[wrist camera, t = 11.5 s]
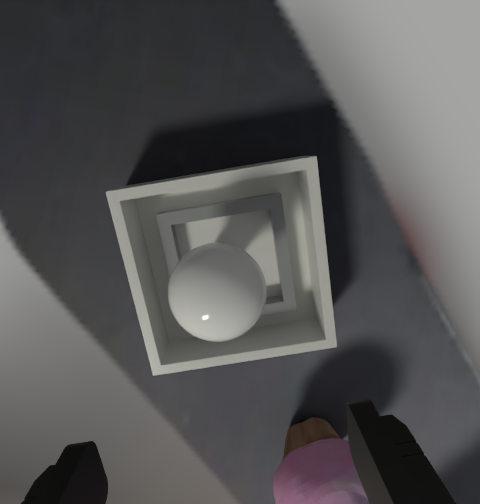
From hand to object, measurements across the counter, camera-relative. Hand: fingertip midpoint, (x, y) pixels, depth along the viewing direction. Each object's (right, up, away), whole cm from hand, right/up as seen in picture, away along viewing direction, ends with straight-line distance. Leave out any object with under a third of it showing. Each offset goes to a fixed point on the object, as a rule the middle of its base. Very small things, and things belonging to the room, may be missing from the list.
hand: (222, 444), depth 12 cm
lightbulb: (-1, +6, +20) cm, 21 cm away
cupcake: (+8, -13, +26) cm, 30 cm away
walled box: (0, +6, +21) cm, 22 cm away
